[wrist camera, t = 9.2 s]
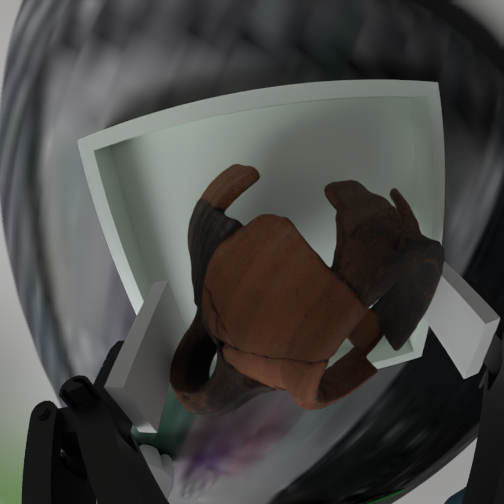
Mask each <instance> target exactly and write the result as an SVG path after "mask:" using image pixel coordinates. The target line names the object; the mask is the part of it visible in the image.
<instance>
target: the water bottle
mask: <svg viewBox="0 0 504 504" xmlns="http://www.w3.org/2000/svg"><path fill="white" fill-rule="evenodd" d="M139 448H140V450H141V452H142V454H143V456H144V458H145V460H146V462H147V464H148V466H149V468H150V470H151V472H152V474H153V476H154V478H155V480H156V481H157V483H158V485H159V487H160V489H161V490H162V492H163V494H164V496H165V497H166V499H167V500H168V496H169V494H170V491H171V489H172V487H173V482H174V466H173V463H172V460H171V458H170V456H169V455H167V454H162V455H160V454H159V452H158V450H157V448H155V447H153V446H150V445H141V446H139Z"/></svg>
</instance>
